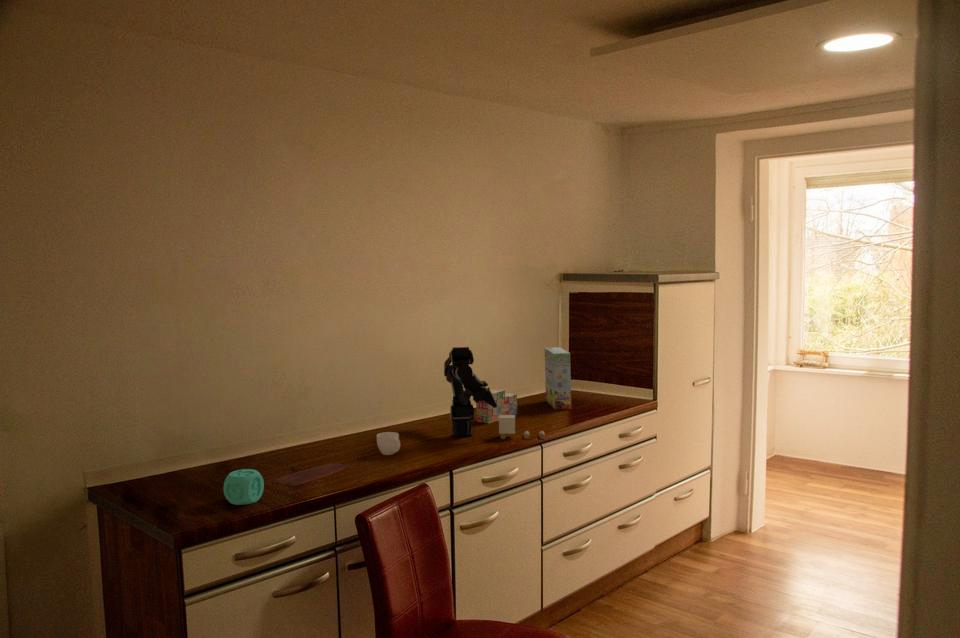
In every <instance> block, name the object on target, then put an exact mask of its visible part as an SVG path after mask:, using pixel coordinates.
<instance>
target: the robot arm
mask: <svg viewBox="0 0 960 638" xmlns="http://www.w3.org/2000/svg"><path fill="white" fill-rule="evenodd" d="M474 361H475V359H474V354H473V352H472V350H471V349H470V347H469V346H463V347H462V346H461V347H460V346H459V347H458V346H457V347H455V346H454V347H452V348H451V350H450V351H449V353H448V357H447V359H446V360H445V361H444V363H443V375H444V377H445V379H446V382H448V383H450V385H451V390H452V395H453V396H452V400H451V405H450V407H449V408H450V409H449V421H451V422H452V433H450V434H449V435H450V436H452V437H455V438H458V439H462V438H467V437H472V436H473V435H474V434H473V433H472V423H471V421H474V420H475V407H474V405H473V404H472V402H471V397H472V400H473V401H474V402H475V404H476V403H477V402H478V401H484V402H486V403H488V404H489V405H491V406H493V407H494V408H496V407H497V404H496V402H495V400H494V398H493V395H492V393H491V391H490V390H491V389H490V387H488V386H489V383H488V382H487V381H486V380H480V378H478V377H477V375H476V374H475V373H474V371H473V368H472V367H471V366H470V365H473V364H474ZM473 437H474V436H473Z"/></svg>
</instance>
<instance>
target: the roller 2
mask: <svg viewBox="0 0 960 638" xmlns="http://www.w3.org/2000/svg"><path fill="white" fill-rule="evenodd" d="M538 434H539V439H540V440H545V439H546V435H545V434H546V433H545V431H543V430H541V431H539V433H538Z"/></svg>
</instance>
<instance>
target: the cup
mask: <svg viewBox="0 0 960 638" xmlns="http://www.w3.org/2000/svg"><path fill="white" fill-rule="evenodd" d="M376 444H377V448H378V450H379V451H380V453H381V454H382V455H384V456H391V455H394V454H395V453H397V452H399V450H400V449H401V441H400V434H399V433H398V432H396V431H395V432H394V431H385V432H384V431H383V432H380V433H377V434H376Z"/></svg>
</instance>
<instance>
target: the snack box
mask: <svg viewBox="0 0 960 638" xmlns="http://www.w3.org/2000/svg"><path fill="white" fill-rule="evenodd" d="M543 350H544V372H545V373H544V375H545V377H544V378H545V379H544V380H545V382H544V383H545V384H544V385H545V402H547V403H548V405H550V406H551V407H552V408H553V410H557V411H559V410H560V411H561V410H572V376H571V375H572V373H571V372H572V371H571V368H572V367H571V366H572V365H571V361H572V360H571V358H572V357H571V352H569V351H568V350H566V349H564V348H562V347H559V346H558V347H557V346H556V347H544V349H543Z"/></svg>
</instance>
